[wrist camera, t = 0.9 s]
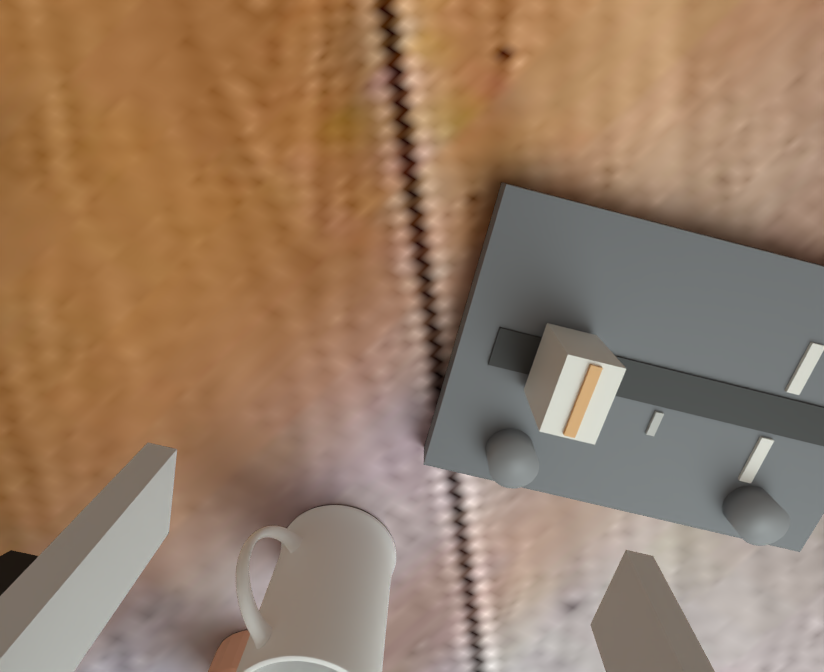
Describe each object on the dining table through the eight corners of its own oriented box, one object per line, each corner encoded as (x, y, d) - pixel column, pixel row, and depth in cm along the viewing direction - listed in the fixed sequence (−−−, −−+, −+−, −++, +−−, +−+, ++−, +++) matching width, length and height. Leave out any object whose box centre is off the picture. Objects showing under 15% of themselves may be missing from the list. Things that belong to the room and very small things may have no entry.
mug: (235, 496, 38) (152, 642, 27) (337, 450, 37) (295, 584, 25) (319, 611, 42) (277, 784, 30) (416, 573, 40) (410, 741, 29)
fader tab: (547, 322, 31) (568, 355, 26) (596, 335, 31) (628, 370, 26) (523, 390, 32) (540, 433, 27) (571, 401, 32) (595, 446, 27)
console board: (501, 182, 30) (511, 186, 27) (922, 291, 32) (989, 310, 28) (424, 448, 36) (423, 482, 33) (781, 531, 38) (820, 574, 34)
